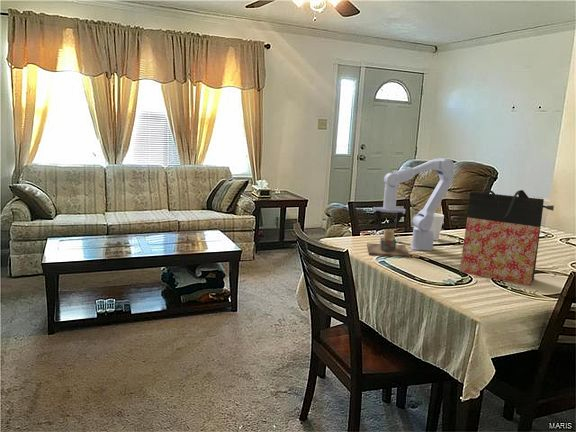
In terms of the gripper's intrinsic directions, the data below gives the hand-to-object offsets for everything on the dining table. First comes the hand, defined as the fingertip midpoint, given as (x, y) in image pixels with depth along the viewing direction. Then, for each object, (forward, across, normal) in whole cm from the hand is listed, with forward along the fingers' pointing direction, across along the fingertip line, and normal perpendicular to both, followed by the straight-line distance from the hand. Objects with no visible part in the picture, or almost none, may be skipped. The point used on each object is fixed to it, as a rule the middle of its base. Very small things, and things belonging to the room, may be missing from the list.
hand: (387, 227), depth 219 cm
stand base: (+10, 0, -6) cm, 11 cm away
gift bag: (+10, +42, -34) cm, 55 cm away
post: (+9, 0, -6) cm, 10 cm away
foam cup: (+10, +26, +26) cm, 38 cm away
